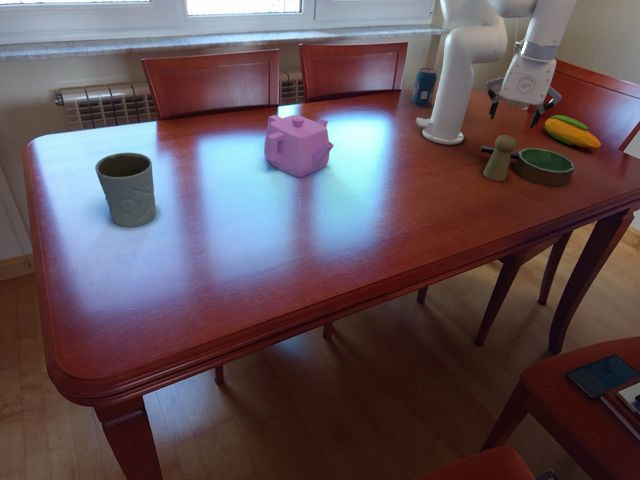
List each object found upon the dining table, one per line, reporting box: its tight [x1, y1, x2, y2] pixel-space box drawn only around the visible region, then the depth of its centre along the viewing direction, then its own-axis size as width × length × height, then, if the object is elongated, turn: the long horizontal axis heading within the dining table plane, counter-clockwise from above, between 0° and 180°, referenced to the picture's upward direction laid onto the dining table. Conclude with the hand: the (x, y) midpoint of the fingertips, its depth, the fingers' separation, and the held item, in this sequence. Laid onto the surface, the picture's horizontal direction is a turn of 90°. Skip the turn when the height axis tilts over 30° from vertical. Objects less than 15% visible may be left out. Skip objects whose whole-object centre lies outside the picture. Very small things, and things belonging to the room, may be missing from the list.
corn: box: [544, 114, 602, 150], centre depth 137 cm, size 7×8×20 cm
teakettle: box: [264, 114, 335, 178], centre depth 111 cm, size 17×17×12 cm
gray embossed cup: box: [94, 152, 157, 228], centre depth 87 cm, size 10×10×12 cm
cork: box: [482, 134, 518, 182], centre depth 114 cm, size 6×6×11 cm
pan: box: [480, 144, 575, 187], centre depth 121 cm, size 24×14×4 cm, turn 69°
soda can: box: [411, 67, 438, 108], centre depth 156 cm, size 7×7×12 cm
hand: (511, 121), depth 109 cm, fingers open, 9 cm apart
